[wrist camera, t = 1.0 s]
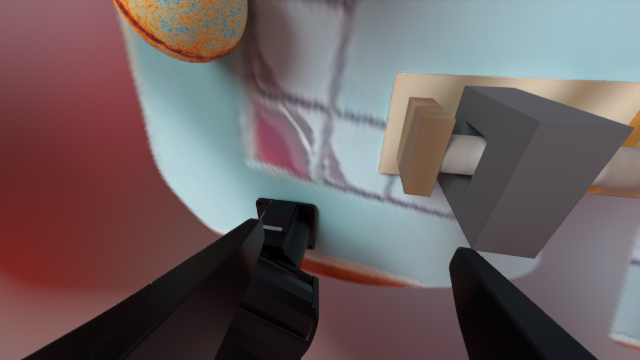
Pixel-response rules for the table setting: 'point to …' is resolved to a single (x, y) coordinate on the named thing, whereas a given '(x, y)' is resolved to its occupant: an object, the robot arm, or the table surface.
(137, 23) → the ball
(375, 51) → the table surface
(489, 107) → the grey sliding block
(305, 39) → the table surface
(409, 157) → the pipe stand
